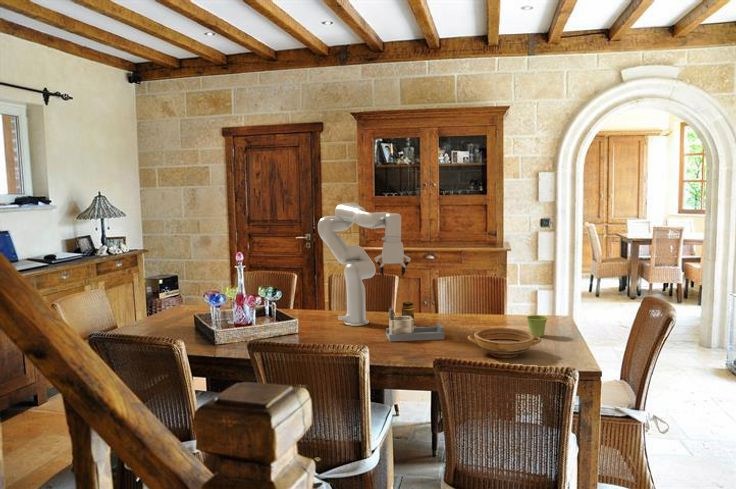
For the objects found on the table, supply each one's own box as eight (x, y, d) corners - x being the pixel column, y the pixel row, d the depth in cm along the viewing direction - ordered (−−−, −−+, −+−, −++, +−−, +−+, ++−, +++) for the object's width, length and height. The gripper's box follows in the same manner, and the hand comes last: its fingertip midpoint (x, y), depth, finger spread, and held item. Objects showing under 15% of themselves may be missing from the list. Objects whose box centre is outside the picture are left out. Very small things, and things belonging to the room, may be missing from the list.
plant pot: (546, 339, 259) (547, 320, 259) (525, 337, 263) (525, 319, 262) (548, 334, 268) (548, 315, 267) (527, 332, 271) (527, 314, 270)
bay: (389, 341, 260) (389, 330, 259) (386, 334, 272) (385, 324, 271) (444, 339, 262) (444, 328, 262) (438, 332, 274) (438, 322, 274)
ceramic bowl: (467, 361, 229) (467, 341, 228) (467, 344, 253) (467, 326, 252) (545, 363, 224) (545, 343, 223) (537, 346, 248) (537, 328, 247)
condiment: (417, 326, 286) (417, 303, 285) (404, 329, 281) (403, 305, 280) (408, 324, 292) (408, 300, 291) (395, 326, 287) (394, 302, 286)
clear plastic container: (391, 338, 261) (391, 311, 260) (388, 333, 270) (388, 307, 269) (413, 337, 262) (413, 310, 261) (410, 332, 271) (410, 306, 270)
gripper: (375, 240, 269) (374, 276, 272) (412, 240, 270) (411, 276, 272) (374, 238, 277) (373, 273, 279) (410, 238, 278) (409, 273, 280)
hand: (392, 275), depth 276 cm, fingers open, 9 cm apart
